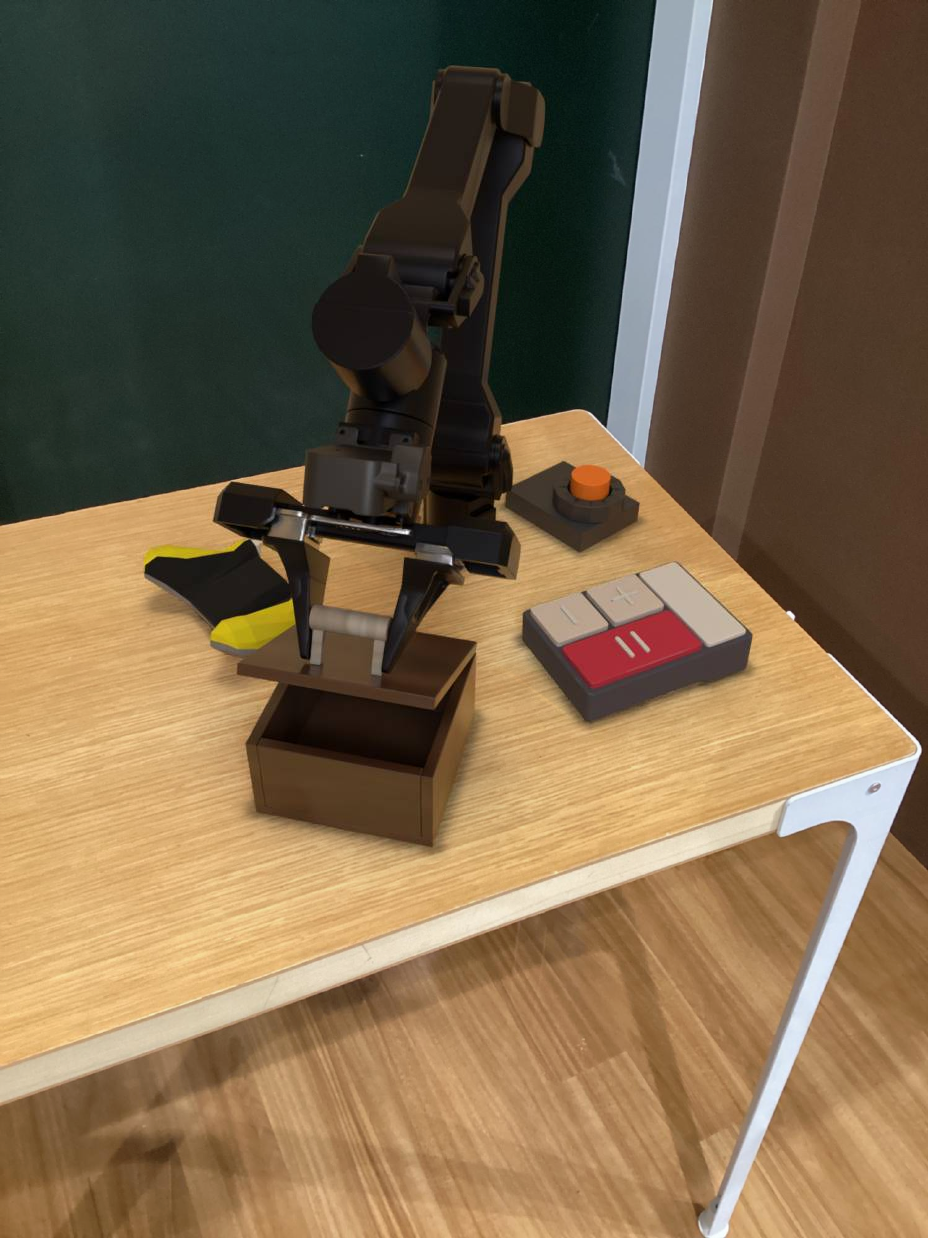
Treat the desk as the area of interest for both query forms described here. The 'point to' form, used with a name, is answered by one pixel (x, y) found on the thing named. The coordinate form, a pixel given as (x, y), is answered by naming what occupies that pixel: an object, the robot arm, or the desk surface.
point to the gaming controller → (226, 592)
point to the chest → (360, 759)
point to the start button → (590, 482)
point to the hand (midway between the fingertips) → (344, 666)
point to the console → (571, 508)
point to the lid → (361, 659)
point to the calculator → (635, 639)
